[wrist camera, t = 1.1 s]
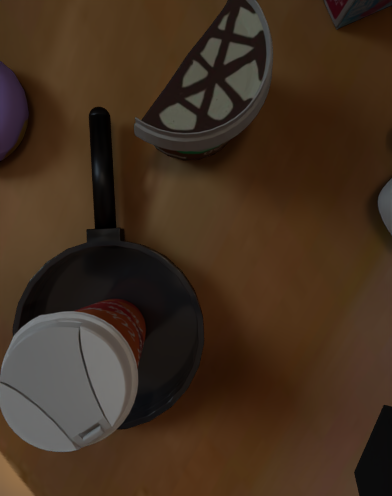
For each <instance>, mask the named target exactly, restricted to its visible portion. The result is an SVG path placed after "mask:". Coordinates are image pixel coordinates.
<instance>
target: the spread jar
mask: <svg viewBox="0 0 392 496" xmlns="http://www.w3.org/2000/svg"><path fill="white" fill-rule="evenodd" d="M378 209H379V213H380V215H381V218H382V220H383V223H384V224H385V226H386V228H387V229H388V231H389V232H390V234H391V235H392V178H391V179H390V180H389V181H388V182H387V183H386V184H385V186H384V187H383V188H382V190H381V192H380V194H379V196H378Z"/></svg>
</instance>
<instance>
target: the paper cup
mask: <svg viewBox="0 0 392 496" xmlns="http://www.w3.org/2000/svg"><path fill="white" fill-rule="evenodd" d="M145 334H146V325H145V320H144V318H143V315H142V314H141V312H140V311H139V309H138V308H137V307H136V306H135V305H133V304H132V303H130V302H128V301H125V300H122V299H109V300H105V301H101V302H98V303H95V304H92V305H89V306H87V307H84V308H81V309H78V310H76V311H66V312H58V313H53V314H46V315H40V316H38V317H36V318H34V319H32V320H31V321H29V322H28V323H27V324H25V325H24V326H23V327H21V328H20V330H19V331H18V332H17V333H16V334H15V335H14V337H13V339H12V341H11V344H10V346H9V348H8V350H7V352H6V354H5V357H4V360H3V363H2V368H1V375H0V408H1V411H2V413H3V416H4V418H5V419H6V421H7V423H8V425H9V426H10V427H11V428H12V430H13V431H14V432H15V433H16V434H17V435H18V436H19V437H20V438H21V439H23V440H24V441H26V442H28V443H29V444H31V445H33V446H35V447H37V448H40V449H44V450H47V451H54V452H69V451H75V450H79V449H80V448H81V447H84V446H89V445H91V444H94V443H97V442H99V441H101V440H102V439H104V438H106V437H108V436H109V435H110V434H111V433H113V432H114V431H115V430H116V429H117V428H118V427H119V426H120V425H121V424H122V423H123V422H124V420H125V419H126V417H127V416H128V414H129V413H130V411H131V408H132V406H133V404H134V401H135V398H136V394H137V388H138V365H139V361H140V357H141V353H142V349H143V345H144V340H145Z"/></svg>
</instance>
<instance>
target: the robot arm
mask: <svg viewBox="0 0 392 496" xmlns="http://www.w3.org/2000/svg"><path fill="white" fill-rule="evenodd" d="M354 473H355V478H356V482H357V487H358V491H359V496H392V407H391V406H387V405H384V406H383V408H382V410H381V413H380V415H379V417H378V420H377V422H376V424H375V426H374V429H373V431H372V433H371V435H370V438H369V440H368V442H367V445H366V447H365V449H364V451H363V454H362V456H361V458H360V460H359V463H358V465H357V467H356V470H355V472H354Z"/></svg>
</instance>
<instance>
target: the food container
mask: <svg viewBox="0 0 392 496" xmlns="http://www.w3.org/2000/svg"><path fill="white" fill-rule="evenodd" d="M272 64H273V47H272V39H271V35H270V31H269V27H268V24H267V21H266V19H265V16H264V14H263V12H262V9H261V8H260V6H259V4H258V3H257V1H256V0H228V1H227V3H226V5H225V7H224V8H223V10H222V11H221V12H220V14H219V15H218V16H217V18H216V19H215V20H214V22H213V23H212V24H211V26H210V27H209V28H208V30H207V31H206V32H205V34H204V35H203V36H202V37H201V39H200V40H199V41H198V42H197V43H196V45H195V46H194V47H193V48H192V50H191V51H190V52H189V53H188V55H187V56H186V58H185V59H184V61H183V62H182V64H181V65H180V67H179V68H178V70H177V71H176V73H175V74H174V76H173V77H172V78H171V80H170V81H169V83H168V84H167V86H166V87H165V89H164V90H163V91H162V93H161V94H160V95H159V97H158V98H157V100H156V101H155V102H154V104H153V105H152V106H151V108H150V109H149V111H148V112H147V113H146V115H145V116H144V117H143V119H142V120H139V119H138V118H136V117H135V120H136V123H135V124H134V132H135V135H136V136H137V137H139V138H141V139H142V140H144V141H146V142H148V143H150V144H153V145H154V146H155V147H156V148H157V149H158V150H159V151H161V152H163V153H164V154H166V155H168V156H171V157H175V158H178V159H182V160H195V159H202V158H205V157H207V156H210V155H213V154H215V153H216V152H218V151H219V150H220V149H221V148H223V147H224V146H225V145H226V144H227V143H228V141H229V140H230V139H232V138H233V137H235V136H237V135H238V134H239V133H240V132H241V131H243V130H244V129H245V128H246V127H247V126H248V125H249V124H250V123H251V122H252V120H253V119H254V118H255V117H256V116H257V114H258V112H259V111H260V109H261V107H262V106H263V104H264V101H265V99H266V97H267V94H268V91H269V87H270V83H271V78H272Z"/></svg>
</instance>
